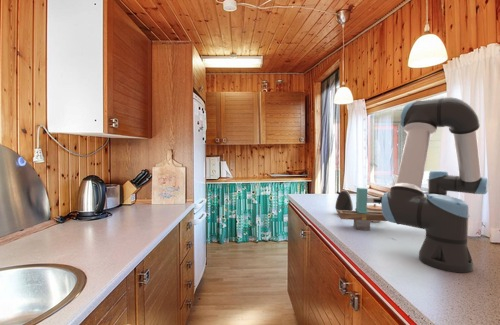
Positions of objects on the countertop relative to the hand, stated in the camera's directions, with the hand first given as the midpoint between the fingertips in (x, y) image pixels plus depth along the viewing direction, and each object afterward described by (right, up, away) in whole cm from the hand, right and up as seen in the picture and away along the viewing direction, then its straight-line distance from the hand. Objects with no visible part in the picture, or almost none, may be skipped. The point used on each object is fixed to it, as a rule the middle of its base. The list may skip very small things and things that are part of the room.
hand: (366, 199), depth 133 cm
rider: (-2, -9, 0) cm, 9 cm away
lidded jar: (+12, -14, +16) cm, 24 cm away
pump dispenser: (-1, -14, +30) cm, 32 cm away
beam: (-2, -14, +1) cm, 15 cm away
